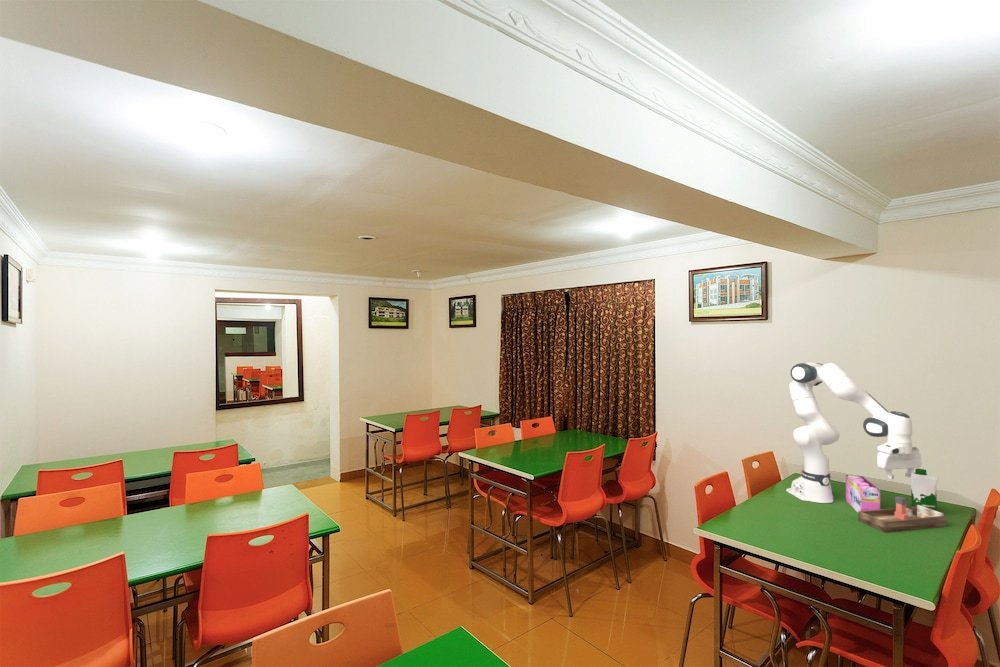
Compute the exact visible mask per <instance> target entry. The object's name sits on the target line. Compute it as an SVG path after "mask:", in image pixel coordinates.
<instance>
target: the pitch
mask: <svg viewBox="0 0 1000 667" xmlns="http://www.w3.org/2000/svg"><path fill="white" fill-rule="evenodd" d="M895 511H896V507H894V508H893V507H891V508H880V510H869V511H858V512H857V514H858V518H857V519H858V522H860V523H862V524H864V525H866V524H867V525H866V526H869V527H871V528H874V529H876V530H878V531H881V532H883V533H895V532H905V531H913V530H914V531H916V530H917V531H918V530H925V529H937V528H946V527H947V516H945V514H944V513H943V512H940V511H938V510H937V511H935V510H932V509H929V508H926V507H923V506H920V505H917V506H914V507H911V506H906V514H907V515H908V519H905V520H901V519H898V518H895ZM922 513H925V514H928V515H929V516H928V515H924V518H921V517H920V515H921V514H922Z"/></svg>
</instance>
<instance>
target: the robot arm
mask: <svg viewBox="0 0 1000 667" xmlns="http://www.w3.org/2000/svg"><path fill="white" fill-rule="evenodd" d="M790 377H791V378H792V381H790V382H789V384H788V393H789V397H790V400H791V404H792V406H793V408H794V412H795V414H796V417H798V418H799V419H801V420H802V421H804V424H806V425H802V426H799V427H797V428H795V429H794V430H793V431H792V439H793V441H794V442H795V443H796V445H797V446H798V447H799V448H800V449H801V452H802V455H803V456H802V457H803V469H801V470H799V472H800V473H801V476H799V477H797V478H796V479H793V480H792V482H791V487H788V488H786V490H785V492H787V493H789V494H790V495H792V496H793V497H796V498H797V499H799V500H801V501H805V502H806V501H807V502H812V503H819V504H830V503H833V502H834V495H833V492H832V485H831V482H830V481H831V473H830V459H829V457H828V455H826V454H824V451H823V449H822V448H823V447H822V446H827V445H832V444H834V443H835V442H838V440H839V439H840V431H839V430H838V428H837V427H836V426H835V425H833V424H831V423H830V422H829V421H828V419H827V418H826V417H825V415H823V413H822V411H821V409H820V406H819V404H818V401H817V399H816V395H815V394H814V390H813V387H814V386H815V387H816V386H819V385H820V384H821V383H823V384H824V385H825V386H826V387H827V389H828V390H829V391H830V392H831V393H832V394H833V395H834V396H835V397H837V398H838V399H841V400H843V401H849V402H853V403H856V404H858V405H860V406H861V407H862V408H864V409H865V410H866V411H867V412H868V413H869V414H870V415H871V417H867V418H865V419H864V420H863V422H862V427H863V430H864V432H865V433H866V434H867V435H868V436H870V437H873V438H886V442H885V443H883V444H880V445H878V446H877V449H876V450H877V452H878V453H877V456H876V465H877V467H878V469H881V470H884V471H885V473H886V475H887V479H889V480H894V479H895V475H894V474H893V473H892V472H893V470H904V469H907V471H906V472H905V473H904V477H906V478H908V479H909V478H910V479H911V477H912V473H913V472H914V470H915V469H920V468H921V467H922V457H921V453H920V449H919V448H918V447H917V446H913V440H912V435H913V424H912V419H911V417H910V416H909V414H907V413H904V412H901V411H892V410H891V411H889V410H887V409H886V408H885V407H884V405H882V404H881V403H880V402H879V401H878V400H876V398H874V397H873V396H872V395H871V394H870V393H869V392H868V391H867V390H865V389H864V388H863V387H861V386H860V385H859V384H858V383H857V382H856V381H855V380H854V379H853V378H852V376H850V375H849V374H848V372H846V371H845V370H844V369H843V368H841V367H840V366H839V365H838V364H837V363H834V362H826V363H824V364H823V363H820V362H819V363H818V362H805V363H804V362H801V363H796V364H794V365H793V366H792V367H791V369H790Z"/></svg>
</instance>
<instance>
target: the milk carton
mask: <svg viewBox="0 0 1000 667" xmlns="http://www.w3.org/2000/svg"><path fill="white" fill-rule="evenodd" d="M914 470H915V472H914V471H913V473H912V477H911V478H910V488H911V489H910V490H911V491H910V493H911V494H910V497H911V499H910V501H911V503H910V505H911V506H910V507H914V506H917V505H920V506H923V507H926V508H929V509H932V510H935V511H938V506H937V505H938V503H937V502H938V501H937V500H938V498H937V496H938V495H937V494H938V493H937V491H938V490H937V486H938V485H937V484H938V481H939V480H938V479H939V478H938V477H936V476H934V475H933V474H931V473H928V472H927V470H926V469H924V468H914Z"/></svg>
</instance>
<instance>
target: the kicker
mask: <svg viewBox="0 0 1000 667" xmlns="http://www.w3.org/2000/svg"><path fill="white" fill-rule="evenodd" d="M894 498H895V501H894V503H895V508H896V511H895V518H898V519H901V520H905V519H908V515H907V514H906V507H907V505H908V503H907V502H908V501H907V500H908V499H907V498H906V497H903V496H899V495H898V496H895V497H894Z"/></svg>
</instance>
